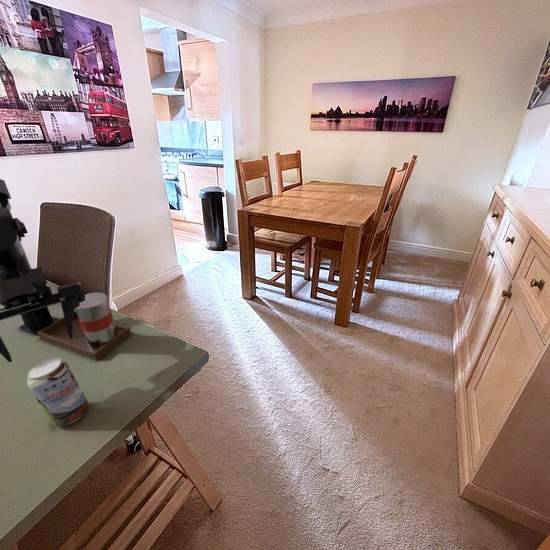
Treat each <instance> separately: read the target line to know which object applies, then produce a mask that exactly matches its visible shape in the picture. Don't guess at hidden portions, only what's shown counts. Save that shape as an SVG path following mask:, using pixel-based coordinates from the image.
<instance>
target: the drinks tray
mask: <svg viewBox="0 0 550 550" xmlns="http://www.w3.org/2000/svg"><path fill="white" fill-rule="evenodd" d="M114 324H115V328H116V331H117V336H116V337H115V338H114V339H113V340H111V341H110V342H108V343H106V344H105V345H103V346H102V347H101V348H99V349H98V350H92V349H90V348H89V347H88V345H87V342H86V339H85V336H84V333H83V330H82V328H81V325H80V323H79V320H78V316H77V313H76V310H74V315H73V339H72V340H70V338H69V335H68V332H67V328H66V323H65V319H64V316H63V317H61V318H60V319H59V320H58V321H56V322H54V323H53V324H51V325H49V326H48V327H46V328H44V329H42V330H41V331H39V332H37V334H36V335H37V336H38V338H39V340H41V341H44V342H47V343H49V344H51V345H54V346H56V347H59V348H62V349H65V350H67V351H70V352H73V353H76V354H77V355H78V354H79V355H80V356H83V357H86V358H89V359H91V360H94V361H96V362H97V361H99V360H101V358H103V357H105V356H106V354H108V353H109V352H110V351H112V350H113V349H115V348H116V347H117V346H118V345H119V344H120V343H122V342H124V340H126V339H127V338H128V337H130V336H131V334H132V333H131V330H130V327H127V326H124V325H121V324H119V323H115V322H114Z"/></svg>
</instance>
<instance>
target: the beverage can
mask: <svg viewBox="0 0 550 550" xmlns="http://www.w3.org/2000/svg"><path fill="white" fill-rule="evenodd" d="M26 384H27V386H28V388H29V389H30V391H31V393H32V394H33V396H34V397H35V399H36V401H37V402H38V404H39V406H40V407H41V409H42V411H43V412H44V414H45V416H46V418H47V419H48V421H49V422H50V423H51V424H52V426H55V427H61V426H67V425H70V424H72V423H74V422H75V421H77V420H78V419H80V418H81V417H82V416H83V414H84V413H85V412H86V410H87V408H88V407H89V403H88V400H87V398H86V395H85V394H84V392H83V391H82V389H81V387H80V385H79V382H78V381H77V379H76V377H75V375H74V374H73V371H72V369H71V368H70V365H69V364H68V362H67V361H64V360H62V359H61V358H60V357H52V358H47V359H45V360H43V361H41V362H38V363H37V364H35V365H34V366H32V367H31V368H30V369H29V370H28V372H27V380H26Z"/></svg>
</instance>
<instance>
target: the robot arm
mask: <svg viewBox="0 0 550 550" xmlns="http://www.w3.org/2000/svg"><path fill="white" fill-rule="evenodd" d="M11 199H12V197H11V193H10V191H9V189H8V186H7V184H6V181H5V180H4V179H1V178H0V305H1V306H3V308H0V321H3V320H6V319H10V318H13V317H17V316H19V315H20V318H21V319H22V322H23V324H22V325H20V326H19V327H18V328H19V330H22V331H24V332H26V333H29V334H32V335H34V336H35V335H38V334H37V332H39V331H41V330H42V329H44V328H46V327H48V326H49V325H51V324H53V323H54V322H56V321H58V320H60V319H59V318H57V317H54V316H52V315H51V312H50V310H49V308H48V307H51V306H53V305H57V304H60V305H61V309H62V313H63V314H62V315H63V317H64V319H65V323H66V328H67V332H68V335H69V338H70V340H72V339H73V315H74V311H75V308H77V307H79V306H80V303H81V302H83V301H85V295H86V292H85V289H84V287H83V285H82V283H81V282H78V281H73V282H71V283H67V284H63V285H60V286H56V290H57V292H56V293H53V292H52V289H51V287H50V286H48V285H47V284H48V281H47V278H46V275H45V273H44V270H43V268H42V266H39V267H38V266H37V267H33V268H32V267H31V264H30V261H29V259H28V256H27V254H26V251H25V249H24V247H23V244H22V238H25V237H26V234H28V230H27V227H26V225H25V223H24V222H23V221H21V220H20V219H19V218H18V217H13V214H12V212H11V210H12V206H11V204H10V201H9V200H11ZM0 354H1V356H2V357H3V358H4V359H5V360H6V361H7V362H8V363H12V362H13V358H12V354H11V353H10V351H9V349H8V348H7V346H6V343H5V341H4V340H3V338H2V336H1V335H0Z"/></svg>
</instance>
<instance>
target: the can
mask: <svg viewBox="0 0 550 550" xmlns="http://www.w3.org/2000/svg"><path fill="white" fill-rule="evenodd" d="M74 311H76V313H77V316H78V320H79V323H80V325H81V328H82V330H83V333H84V336H85V339H86V342H87V345H88V347H89V348H90V349H92V350H98V349H99V348H101V347H102V346H103V345H105V344H106V343H108V342H110V341H111V340H113V339H114V338H115V337H116V336H117V331H116V328H115V324H116V323H115V321H114V317H113V313H112V309H111V307H110V303H109V300H108V296H107V295H106V294H105V293H104V292H90V293H85V301H83V302H81V303H80V306H79V307H77V308H75V309H74ZM114 323H115V324H114Z"/></svg>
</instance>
